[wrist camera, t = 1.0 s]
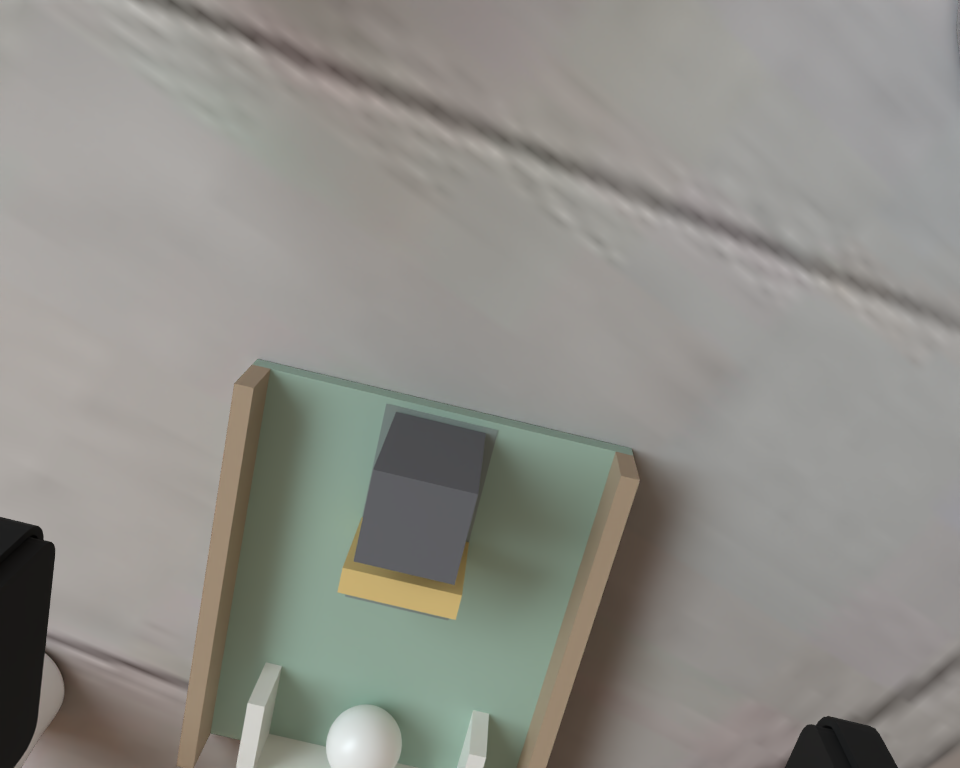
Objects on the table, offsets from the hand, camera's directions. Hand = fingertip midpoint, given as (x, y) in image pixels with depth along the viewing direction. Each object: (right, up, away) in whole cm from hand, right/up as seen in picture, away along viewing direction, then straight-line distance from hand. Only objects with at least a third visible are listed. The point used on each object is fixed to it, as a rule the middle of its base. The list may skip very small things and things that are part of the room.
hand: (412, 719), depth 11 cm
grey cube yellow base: (-2, -1, +29) cm, 29 cm away
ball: (-5, -14, +31) cm, 34 cm away
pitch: (-3, -6, +32) cm, 33 cm away
